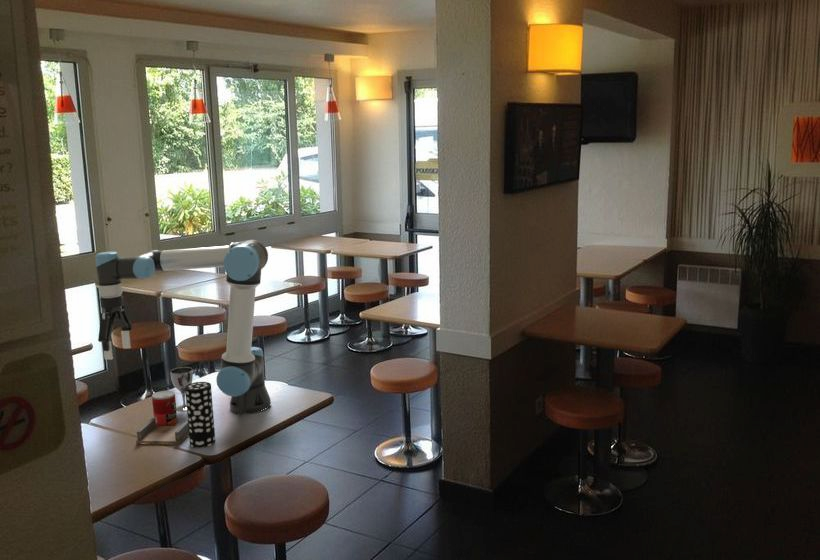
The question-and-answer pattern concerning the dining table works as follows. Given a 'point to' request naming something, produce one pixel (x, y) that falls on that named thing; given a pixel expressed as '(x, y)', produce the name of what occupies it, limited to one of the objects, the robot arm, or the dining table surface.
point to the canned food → (164, 408)
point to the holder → (162, 433)
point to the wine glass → (181, 382)
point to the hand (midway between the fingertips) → (118, 353)
